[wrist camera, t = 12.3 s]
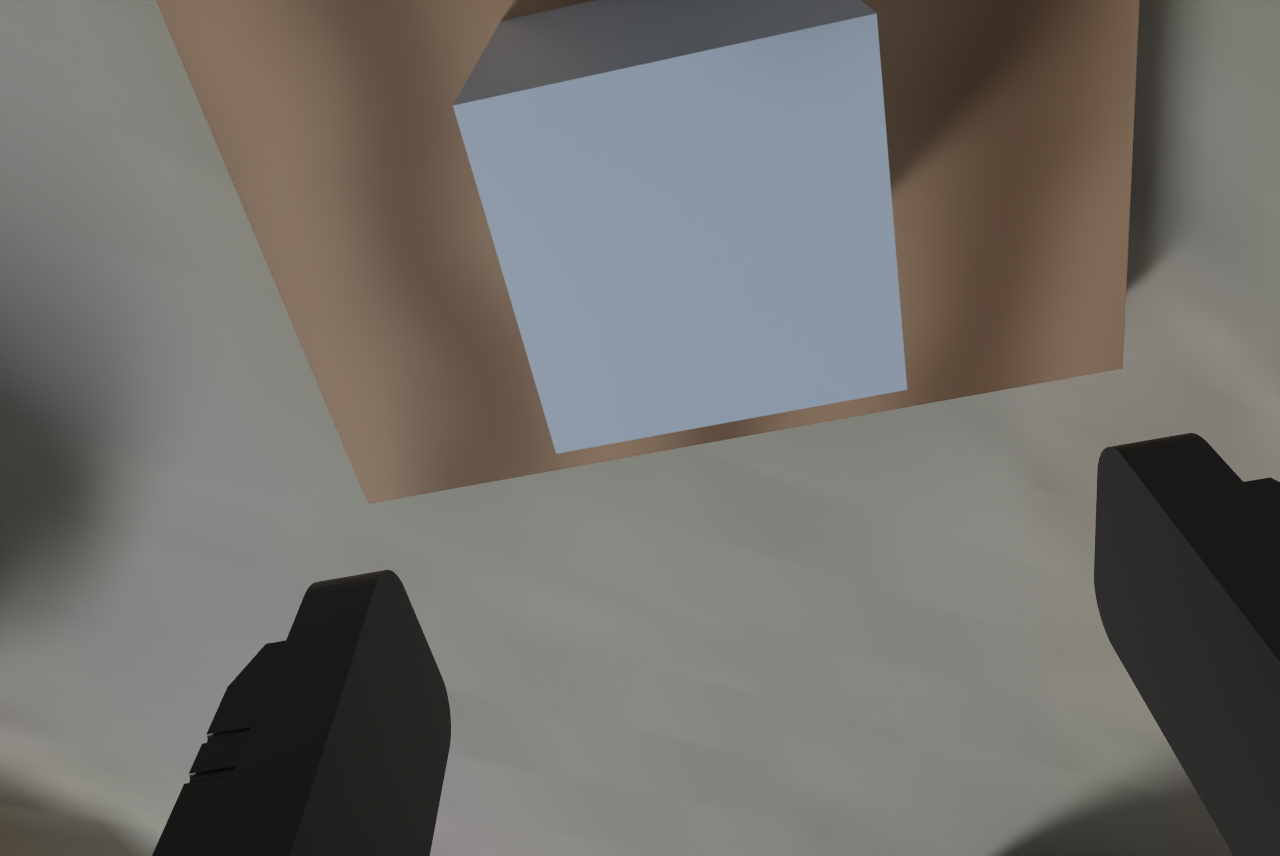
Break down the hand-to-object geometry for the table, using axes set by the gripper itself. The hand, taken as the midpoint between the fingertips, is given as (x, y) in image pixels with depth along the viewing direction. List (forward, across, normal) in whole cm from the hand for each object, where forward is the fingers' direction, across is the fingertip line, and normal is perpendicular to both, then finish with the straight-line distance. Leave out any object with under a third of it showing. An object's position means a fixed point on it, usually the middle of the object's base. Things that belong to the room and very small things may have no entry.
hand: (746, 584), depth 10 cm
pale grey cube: (+15, 0, 0) cm, 15 cm away
